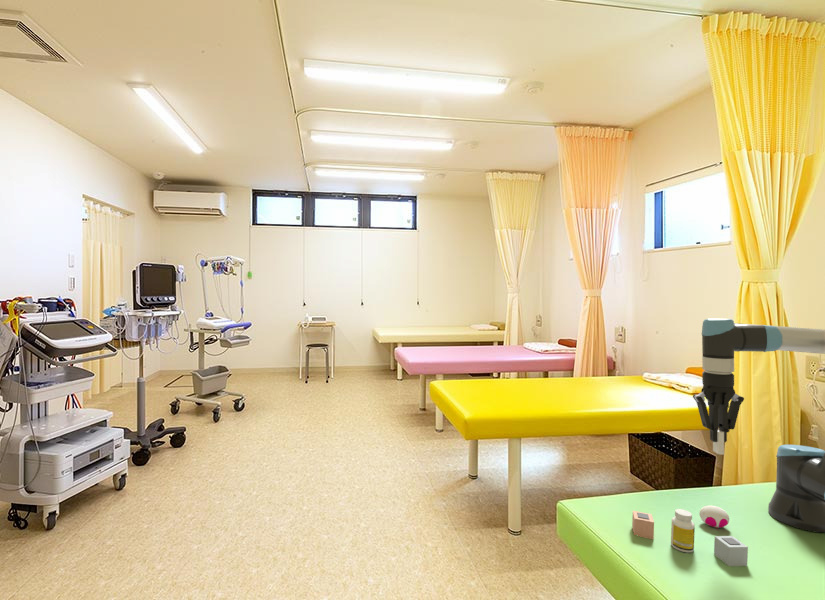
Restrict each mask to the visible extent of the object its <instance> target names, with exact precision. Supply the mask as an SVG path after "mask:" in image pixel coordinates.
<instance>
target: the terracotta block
mask: <svg viewBox="0 0 825 600" xmlns="http://www.w3.org/2000/svg"><path fill="white" fill-rule="evenodd" d="M631 522H632V523H631V525H632V526H631V527H633V528H632V532H634V533H633V536H635V535H638V536H637V537H639V536H640V538H645V539H649V540H654V539H655V538H654V537H655V534H654V533H655V520H654V517H653V514H652V513H648V512H647V513H646V512H642V511H637V510H632V520H631Z"/></svg>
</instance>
